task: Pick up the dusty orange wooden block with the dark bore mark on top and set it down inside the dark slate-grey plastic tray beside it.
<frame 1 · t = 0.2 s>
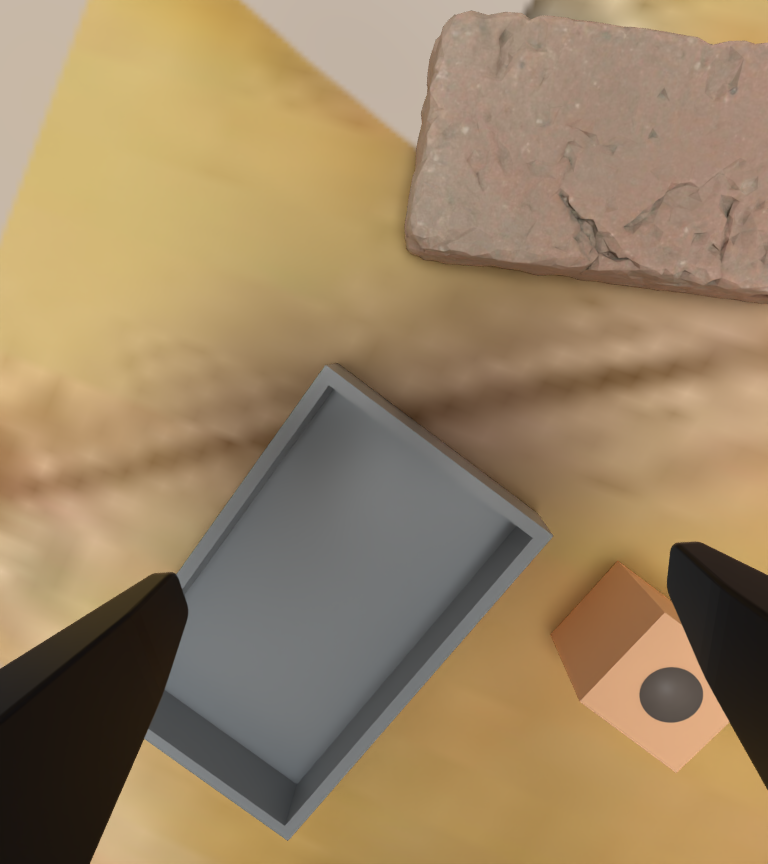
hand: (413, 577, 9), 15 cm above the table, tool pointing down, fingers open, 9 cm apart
brick: (600, 193, 22), on the table
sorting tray: (318, 591, 26), on the table
bored block: (622, 627, 25), on the table
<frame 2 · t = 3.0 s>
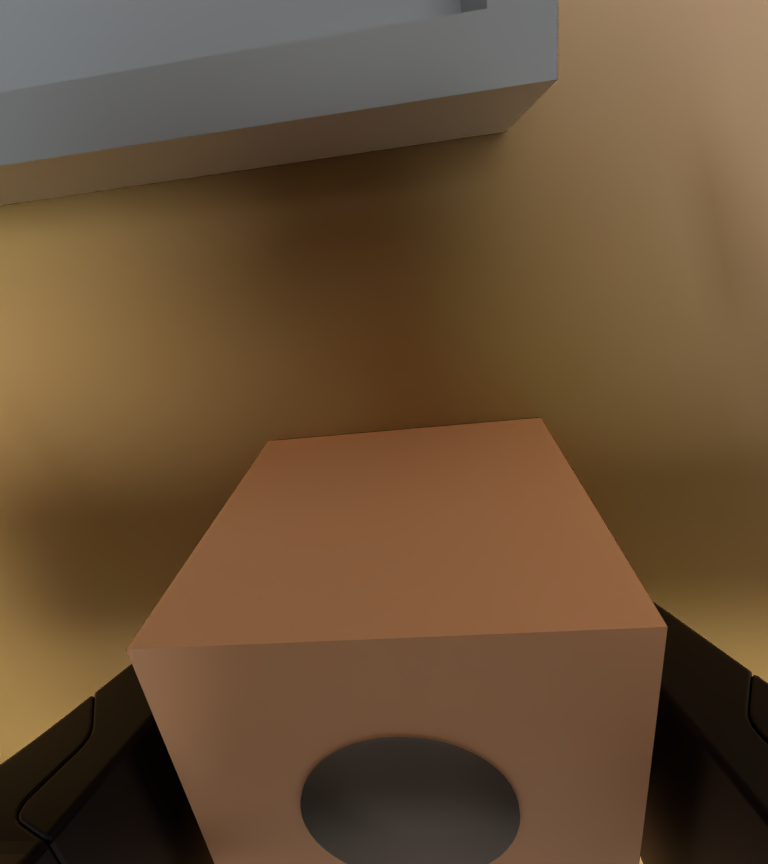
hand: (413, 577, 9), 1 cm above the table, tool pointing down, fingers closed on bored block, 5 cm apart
bored block: (413, 543, 10), on the table, touching gripper
when the fingers open (3 cm above the table, at t = 7.3 s): bored block drops 1 cm, resting on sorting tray.
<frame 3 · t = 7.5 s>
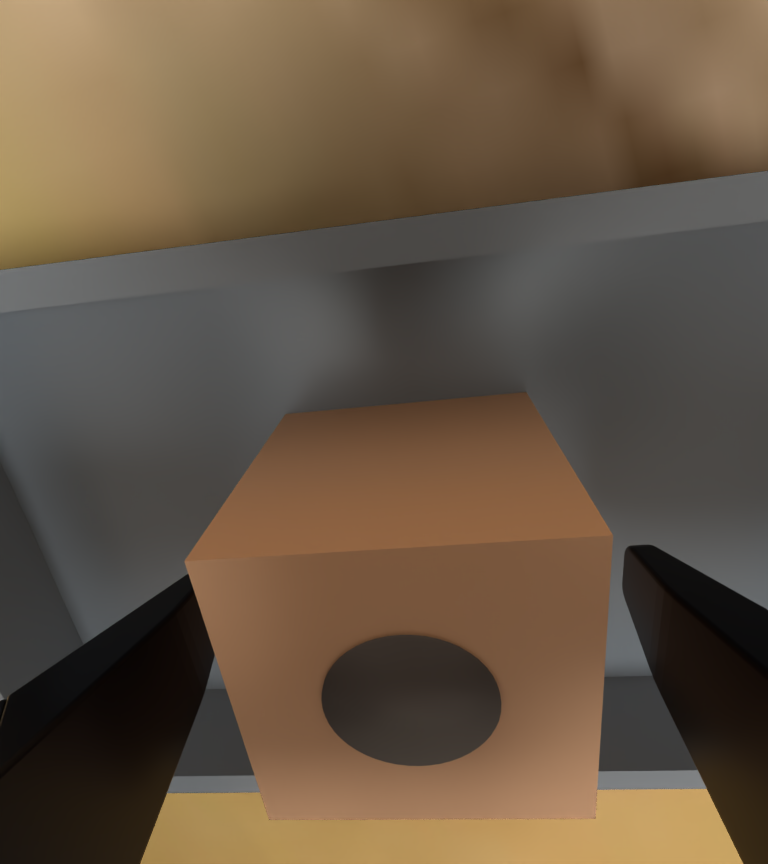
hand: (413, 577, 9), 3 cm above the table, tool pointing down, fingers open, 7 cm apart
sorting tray: (415, 494, 12), on the table
bored block: (414, 507, 11), point 1 cm above the table, touching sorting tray
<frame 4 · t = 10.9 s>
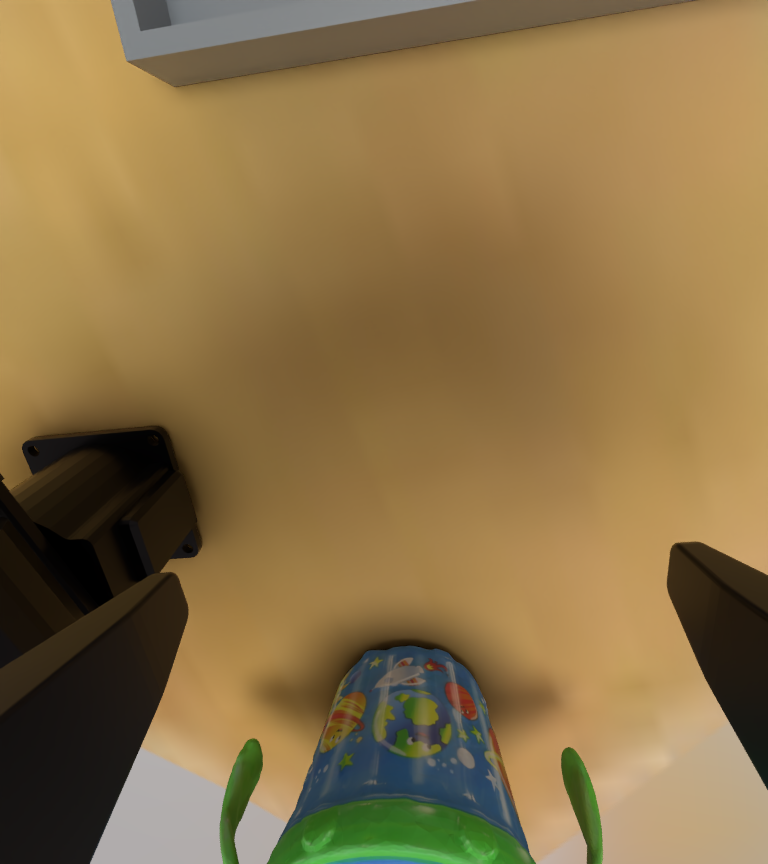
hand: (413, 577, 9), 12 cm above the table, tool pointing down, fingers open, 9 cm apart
snack cup: (409, 687, 27), on the table
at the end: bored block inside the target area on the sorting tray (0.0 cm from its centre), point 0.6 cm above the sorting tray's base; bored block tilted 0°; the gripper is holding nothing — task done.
